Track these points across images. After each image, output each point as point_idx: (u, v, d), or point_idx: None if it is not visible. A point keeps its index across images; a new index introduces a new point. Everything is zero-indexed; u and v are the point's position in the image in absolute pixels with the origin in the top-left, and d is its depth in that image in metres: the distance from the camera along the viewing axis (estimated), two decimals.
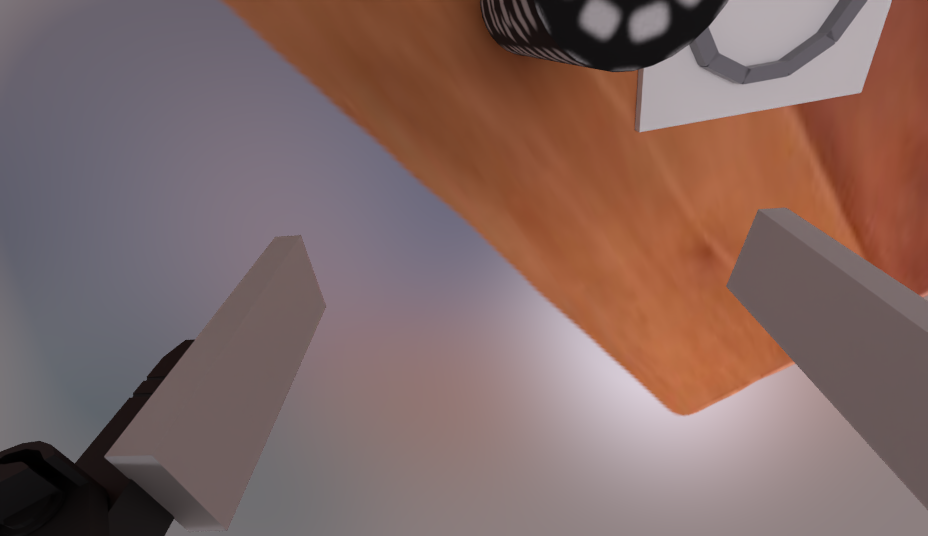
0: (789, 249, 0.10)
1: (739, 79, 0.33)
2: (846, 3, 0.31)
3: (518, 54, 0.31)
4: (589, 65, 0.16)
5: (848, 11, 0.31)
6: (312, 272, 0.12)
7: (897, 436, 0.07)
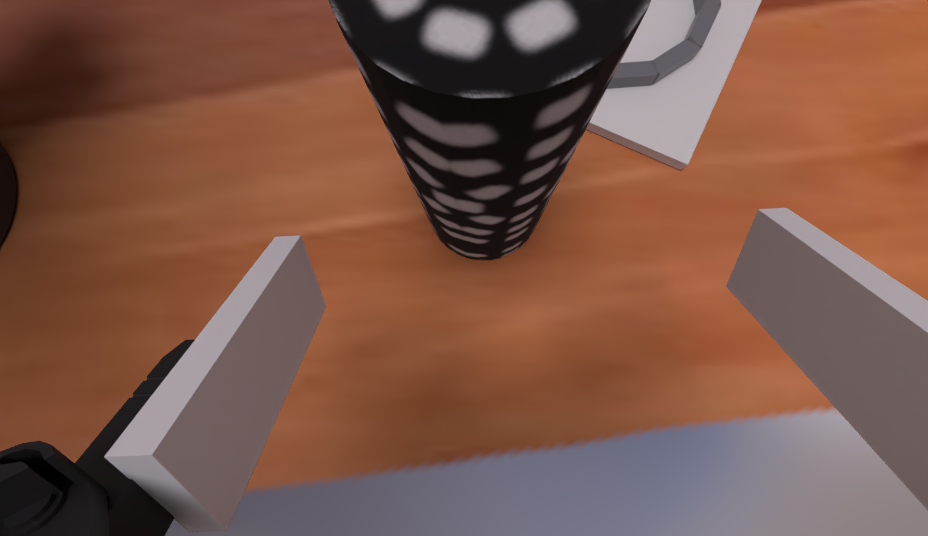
0: (790, 249, 0.10)
1: (694, 49, 0.28)
2: None
3: (521, 242, 0.27)
4: (595, 63, 0.09)
5: None
6: (312, 272, 0.12)
7: (897, 436, 0.07)
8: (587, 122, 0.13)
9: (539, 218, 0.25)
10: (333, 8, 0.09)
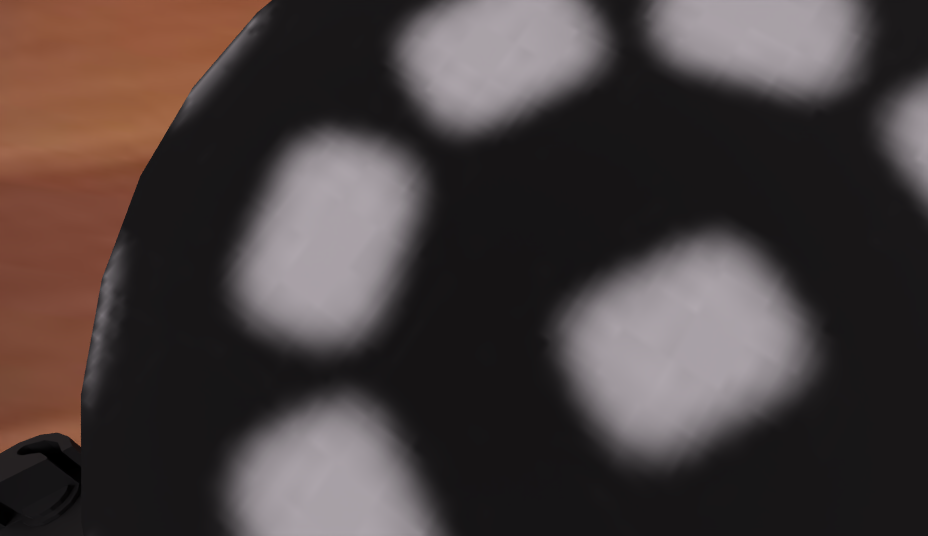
0: None
1: None
2: None
3: None
4: None
5: None
6: None
7: None
8: None
9: None
10: None
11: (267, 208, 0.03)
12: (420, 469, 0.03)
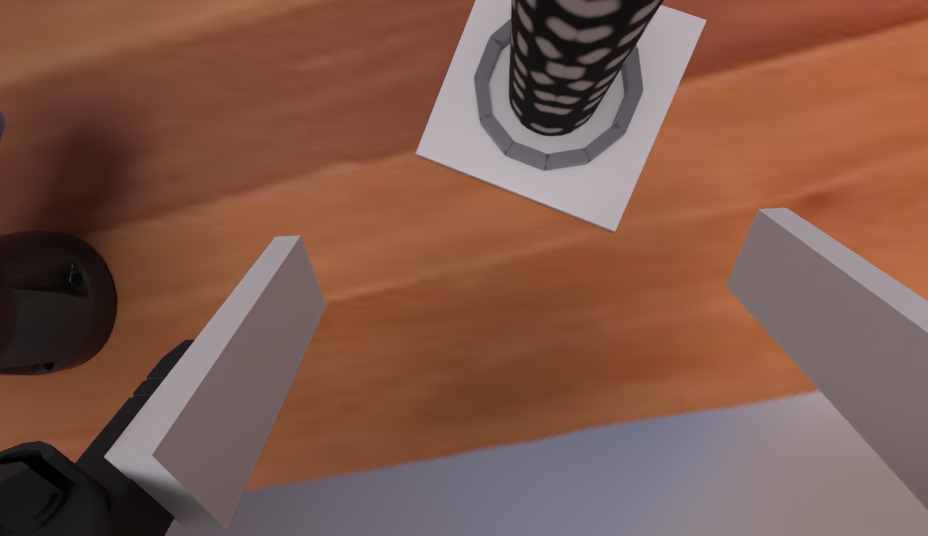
0: (790, 249, 0.10)
1: (619, 134, 0.34)
2: None
3: (590, 115, 0.33)
4: None
5: None
6: (312, 272, 0.12)
7: (897, 436, 0.07)
8: None
9: None
10: None
11: None
12: None
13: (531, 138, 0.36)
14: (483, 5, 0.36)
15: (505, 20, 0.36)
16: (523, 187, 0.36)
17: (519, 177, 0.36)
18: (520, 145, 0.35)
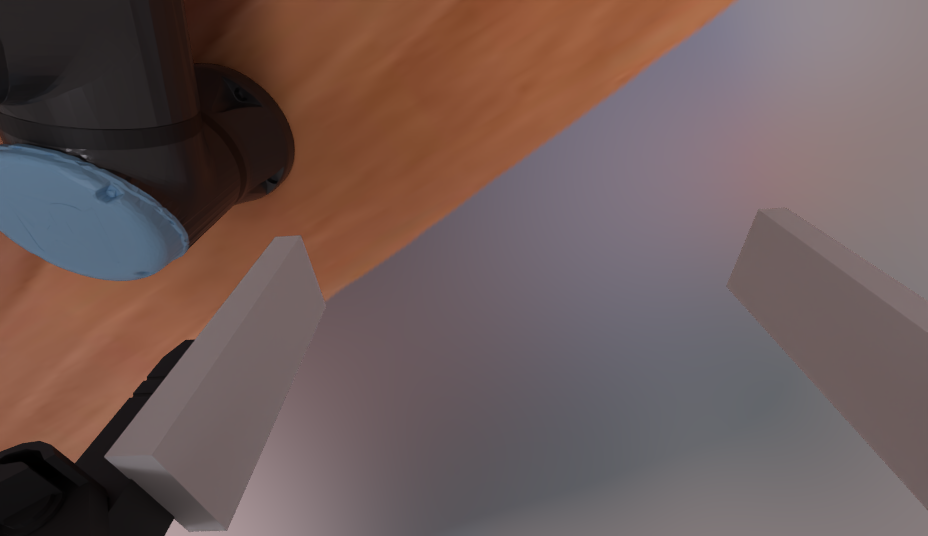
0: (790, 249, 0.10)
1: None
2: None
3: None
4: None
5: None
6: (312, 272, 0.12)
7: (897, 436, 0.07)
8: None
9: None
10: None
11: None
12: None
13: None
14: None
15: None
16: None
17: None
18: None
